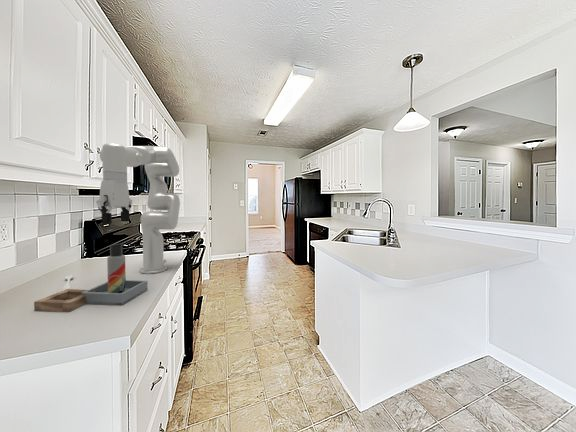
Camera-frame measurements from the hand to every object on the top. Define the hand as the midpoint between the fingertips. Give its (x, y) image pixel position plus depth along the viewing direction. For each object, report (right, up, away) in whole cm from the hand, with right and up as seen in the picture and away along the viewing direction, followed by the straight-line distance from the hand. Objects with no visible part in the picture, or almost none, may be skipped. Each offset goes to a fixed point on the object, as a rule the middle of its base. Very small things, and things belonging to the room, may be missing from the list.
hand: (116, 222), depth 94 cm
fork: (-32, -28, +15) cm, 45 cm away
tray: (-1, -29, +1) cm, 29 cm away
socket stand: (-13, -29, -6) cm, 32 cm away
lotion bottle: (-1, -28, +1) cm, 28 cm away
